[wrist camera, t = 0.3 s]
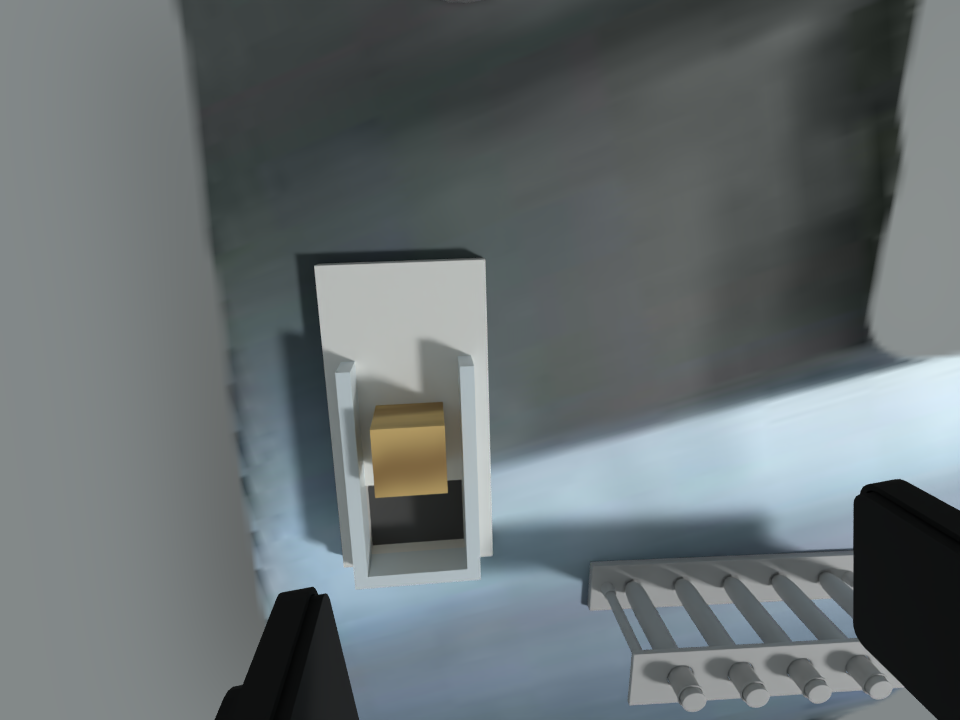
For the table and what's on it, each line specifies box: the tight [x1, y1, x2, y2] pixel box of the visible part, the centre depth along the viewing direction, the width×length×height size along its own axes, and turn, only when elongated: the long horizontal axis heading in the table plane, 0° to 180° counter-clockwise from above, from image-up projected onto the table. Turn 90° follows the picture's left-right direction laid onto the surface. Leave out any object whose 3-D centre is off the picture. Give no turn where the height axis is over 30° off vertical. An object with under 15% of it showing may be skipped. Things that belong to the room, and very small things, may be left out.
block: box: [370, 402, 448, 498], centre depth 43 cm, size 5×5×5 cm
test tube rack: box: [587, 550, 905, 712], centre depth 47 cm, size 25×4×13 cm, turn 89°
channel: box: [314, 258, 493, 590], centre depth 44 cm, size 24×12×4 cm, turn 2°
